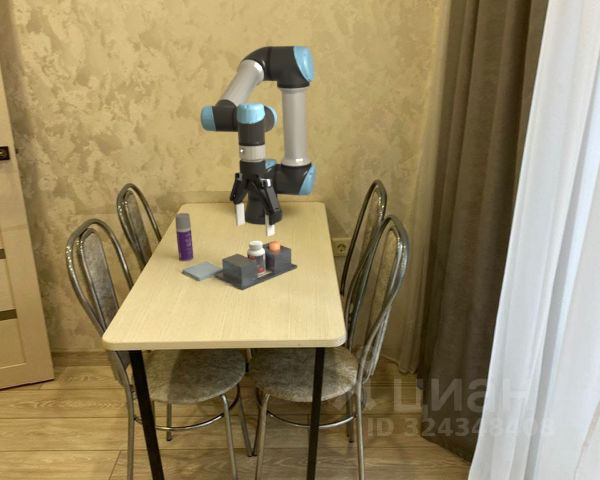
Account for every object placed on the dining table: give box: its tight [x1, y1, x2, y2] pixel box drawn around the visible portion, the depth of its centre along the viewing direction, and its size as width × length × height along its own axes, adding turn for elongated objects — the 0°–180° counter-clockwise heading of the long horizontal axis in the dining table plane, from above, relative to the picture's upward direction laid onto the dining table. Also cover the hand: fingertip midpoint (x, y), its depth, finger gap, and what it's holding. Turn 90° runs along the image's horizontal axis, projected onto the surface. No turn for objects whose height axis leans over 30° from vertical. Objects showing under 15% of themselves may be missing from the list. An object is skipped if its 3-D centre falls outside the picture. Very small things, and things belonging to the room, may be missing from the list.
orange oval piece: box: [268, 240, 281, 251], centre depth 171 cm, size 3×3×5 cm
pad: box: [182, 260, 223, 282], centre depth 168 cm, size 9×9×1 cm
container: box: [174, 212, 194, 262], centre depth 175 cm, size 5×5×15 cm
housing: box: [214, 242, 298, 291], centre depth 166 cm, size 22×13×6 cm, turn 135°
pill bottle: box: [246, 240, 267, 276], centre depth 166 cm, size 5×5×10 cm
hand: (254, 229), depth 162 cm, fingers open, 13 cm apart
